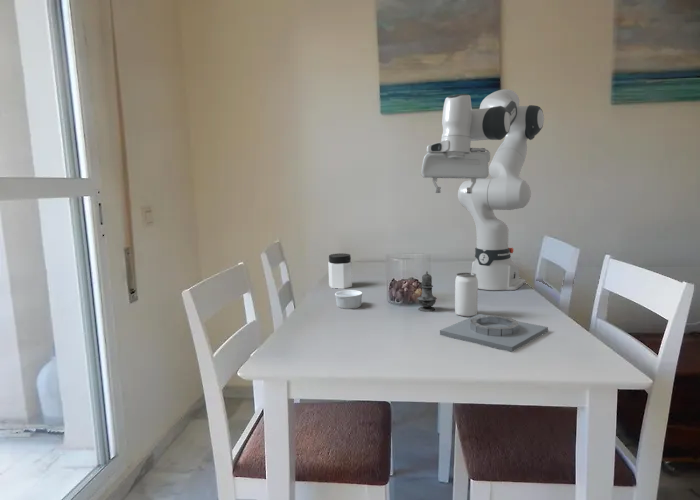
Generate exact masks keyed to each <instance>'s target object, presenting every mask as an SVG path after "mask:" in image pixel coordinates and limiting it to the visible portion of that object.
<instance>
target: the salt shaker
mask: <svg viewBox="0 0 700 500" xmlns="http://www.w3.org/2000/svg"><path fill="white" fill-rule="evenodd" d="M432 280H433V277H432V275H431V274H429V272H428V271H426V272H425V274H423V275H422V277H421V285H420V287H421V295H420V296H417V300H418V301H417V302H418V304H419V305H420V307H418V311H420V312H425V313H427V312H429V313H430V312H435V311H436V307H434V305H435V304H436V300H437V297H436V296H434V295H433V287H434V285H433V284H432Z"/></svg>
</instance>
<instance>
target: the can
mask: <svg viewBox="0 0 700 500" xmlns="http://www.w3.org/2000/svg"><path fill="white" fill-rule="evenodd" d="M454 281H455V282H454V283H455V287H454V313H455V314H456V316H460V317H465V318H471V317H473V316H475V315H478V303H479V302H478V301H479V300H478V298H479V295H478V294H479V293H478V290H479V289H478V279H477V277H476V274H474V273H472V272H459V273H456V277H455V280H454Z"/></svg>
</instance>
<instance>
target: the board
mask: <svg viewBox="0 0 700 500" xmlns="http://www.w3.org/2000/svg"><path fill="white" fill-rule="evenodd" d="M486 315H487V316H488V315H489V314H484V313H483V314H482V313H477V314H476V315H475V316H472V317H467V318H466V319H464V320H461V321H459V322H457V323H456V322H455V324H452V325H450V326H447V327H444V328H441V329H440V330H439V336H443V337H447V338H451V339H457V340H461V341H465V342H469V343H473V344H477V345H481V346H485V347H490V348H493V349H496V350H497V349H498V350H502V351H506V352H509V353H514V351H515V352H516V350H518V349H520V348H521V347H523V346H525V345H527V344H528V343H530V342H532V341H534V340H535V339H537V338H540V336H543V335H545V334H546V333H548V332H549V327H548V326H546V325H545V326H543V325H540V324H539V325H538V324H534V323H528V322H523V321H518V320H517V321H518V324H519V332H517V333H515V334H513V335H508V336H488V335H483V334H479V333H476V332H474V331H472V330H470V320H471V319H472V318H475V317H477V316H486ZM481 325H483V326H488V327H507V326H506V325H501V324H491V323H488V324H481ZM542 334H543V335H542Z"/></svg>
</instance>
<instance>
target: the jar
mask: <svg viewBox="0 0 700 500" xmlns="http://www.w3.org/2000/svg"><path fill="white" fill-rule="evenodd" d="M351 258H352V257H351V254H350V253H332V254H329V255H328V262H327V263H328V264H327V265H328V286H329V287H330V288H331V289H335V288H338V289H342V290H343V289H345V290H346V289H348V288H351V287H353V270H352V269H353V267H352V266H353V265H352V262H351V260H352V259H351ZM338 289H337V290H338Z"/></svg>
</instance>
